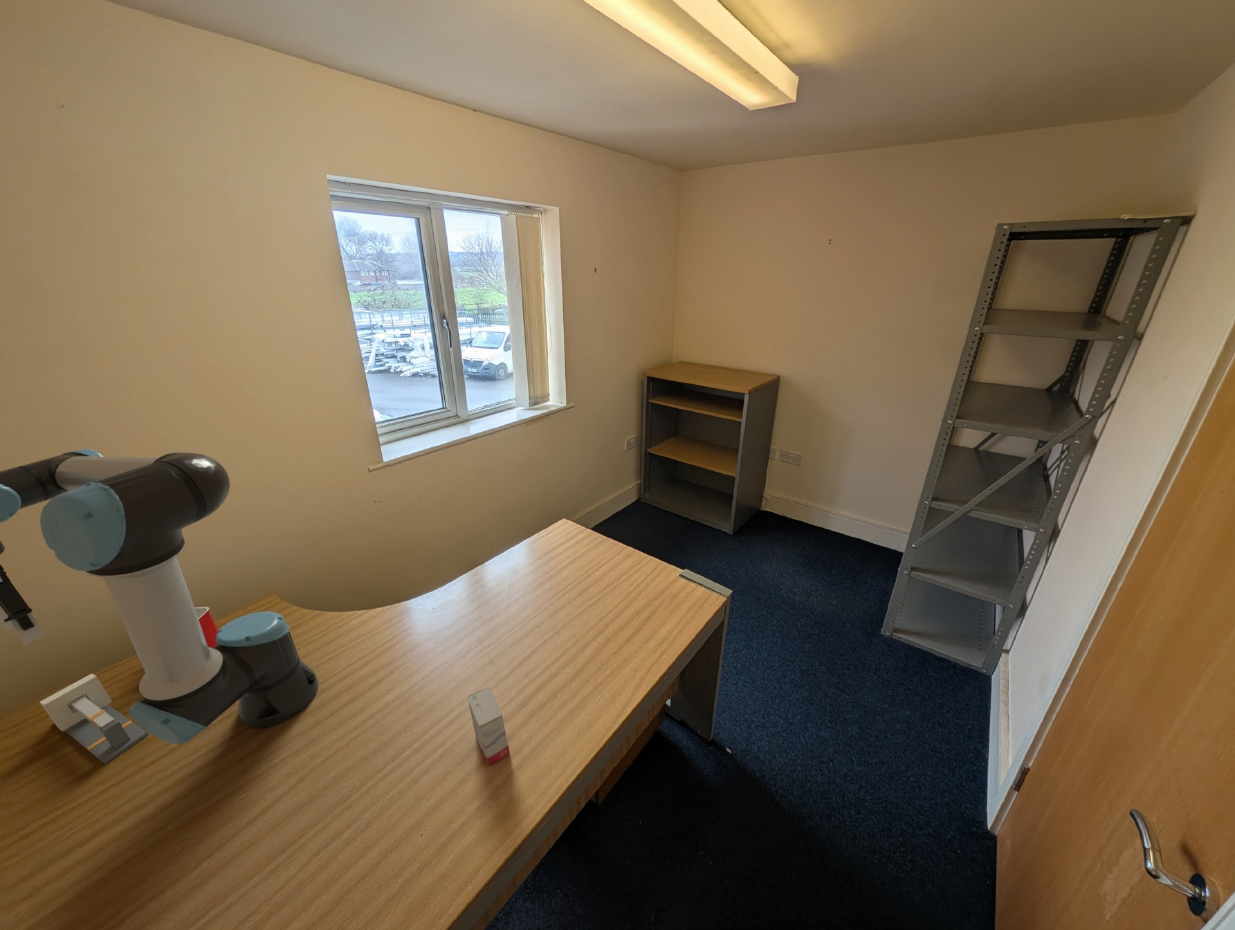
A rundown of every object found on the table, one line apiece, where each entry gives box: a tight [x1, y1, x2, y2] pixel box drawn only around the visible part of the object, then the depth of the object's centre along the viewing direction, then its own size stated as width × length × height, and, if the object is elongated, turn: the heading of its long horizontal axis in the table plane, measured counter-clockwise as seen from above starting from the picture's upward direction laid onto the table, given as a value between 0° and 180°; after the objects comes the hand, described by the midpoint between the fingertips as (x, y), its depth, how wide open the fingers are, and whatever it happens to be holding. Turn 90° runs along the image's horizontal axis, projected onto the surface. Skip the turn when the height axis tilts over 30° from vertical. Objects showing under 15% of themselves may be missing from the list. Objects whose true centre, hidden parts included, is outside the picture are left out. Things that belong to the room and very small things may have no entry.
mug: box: [194, 606, 219, 648], centre depth 119 cm, size 12×8×11 cm
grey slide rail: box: [63, 695, 149, 765], centre depth 99 cm, size 23×7×7 cm, turn 66°
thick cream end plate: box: [39, 673, 113, 732], centre depth 99 cm, size 2×8×8 cm, turn 156°
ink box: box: [467, 686, 510, 767], centre depth 94 cm, size 9×5×12 cm, turn 33°
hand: (25, 632), depth 95 cm, fingers open, 9 cm apart
